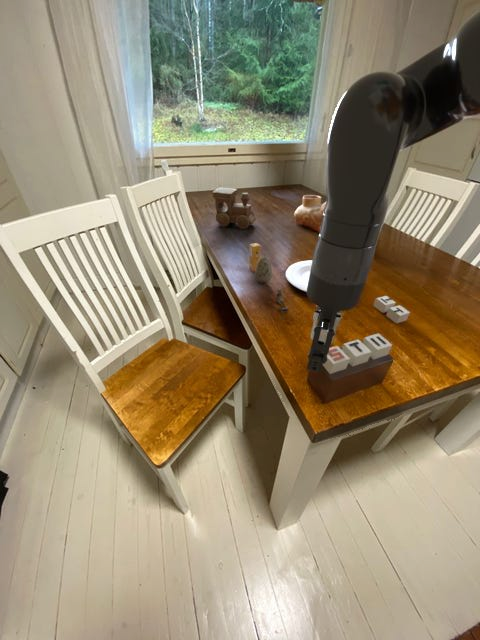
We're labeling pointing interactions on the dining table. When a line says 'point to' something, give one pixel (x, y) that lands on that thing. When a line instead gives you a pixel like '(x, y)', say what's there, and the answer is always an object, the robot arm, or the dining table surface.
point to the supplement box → (254, 255)
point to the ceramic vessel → (310, 212)
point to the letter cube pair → (391, 309)
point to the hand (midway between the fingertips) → (317, 352)
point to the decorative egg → (263, 270)
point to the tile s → (336, 360)
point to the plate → (299, 274)
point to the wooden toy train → (232, 208)
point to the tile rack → (349, 378)
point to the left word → (366, 349)
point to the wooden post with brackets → (281, 300)
